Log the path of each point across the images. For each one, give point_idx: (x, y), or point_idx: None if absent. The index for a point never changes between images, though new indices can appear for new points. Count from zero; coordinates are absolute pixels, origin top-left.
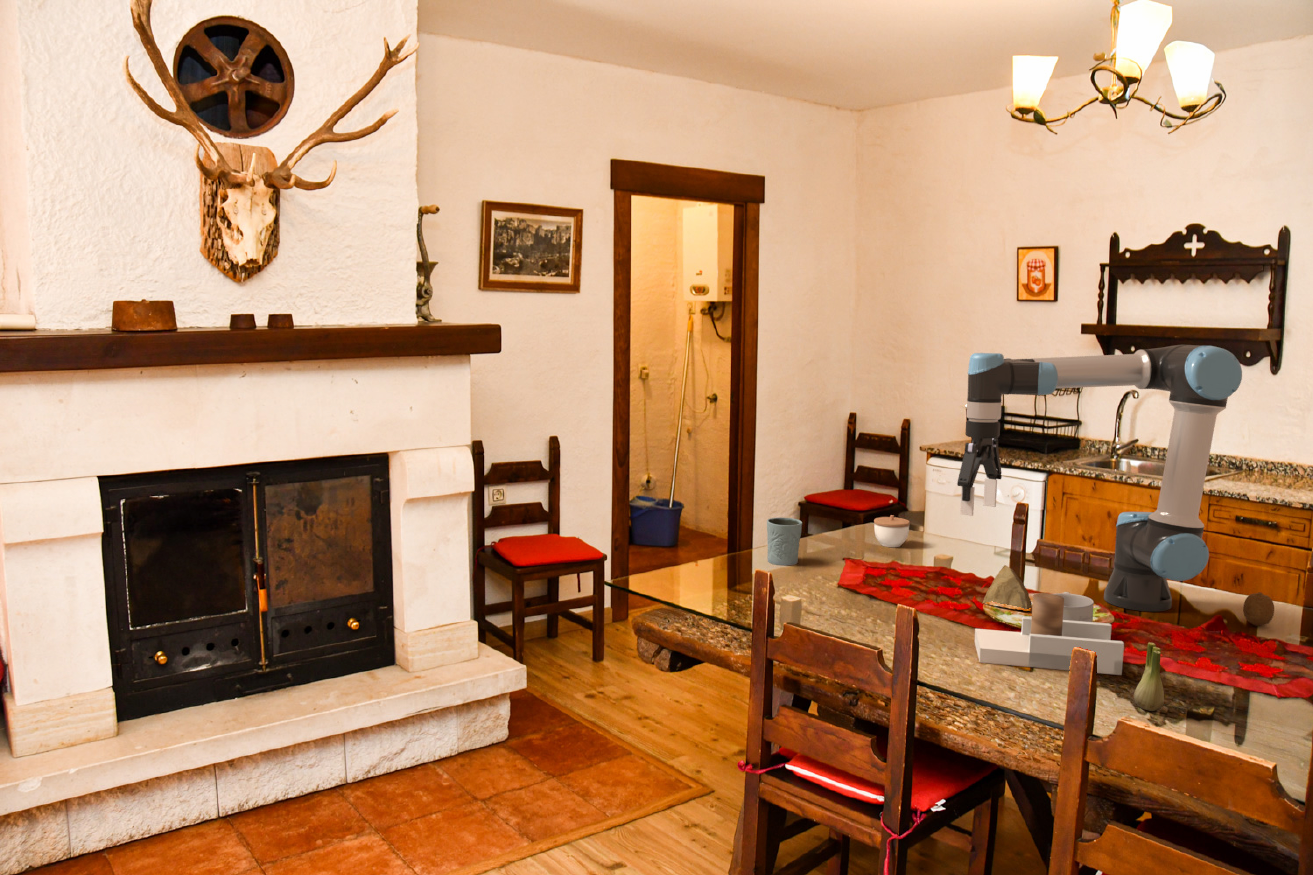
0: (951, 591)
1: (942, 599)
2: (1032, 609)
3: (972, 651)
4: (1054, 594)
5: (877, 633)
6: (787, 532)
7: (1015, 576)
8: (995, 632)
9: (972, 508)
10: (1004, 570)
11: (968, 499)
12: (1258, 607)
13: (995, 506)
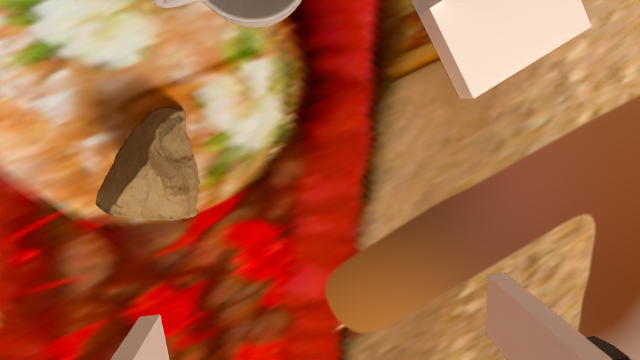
0: (165, 306)
1: (238, 287)
2: None
3: (516, 73)
4: (212, 4)
5: (535, 252)
6: None
7: (139, 163)
8: (470, 52)
9: (529, 294)
10: (128, 204)
11: (602, 345)
12: None
13: (144, 316)
